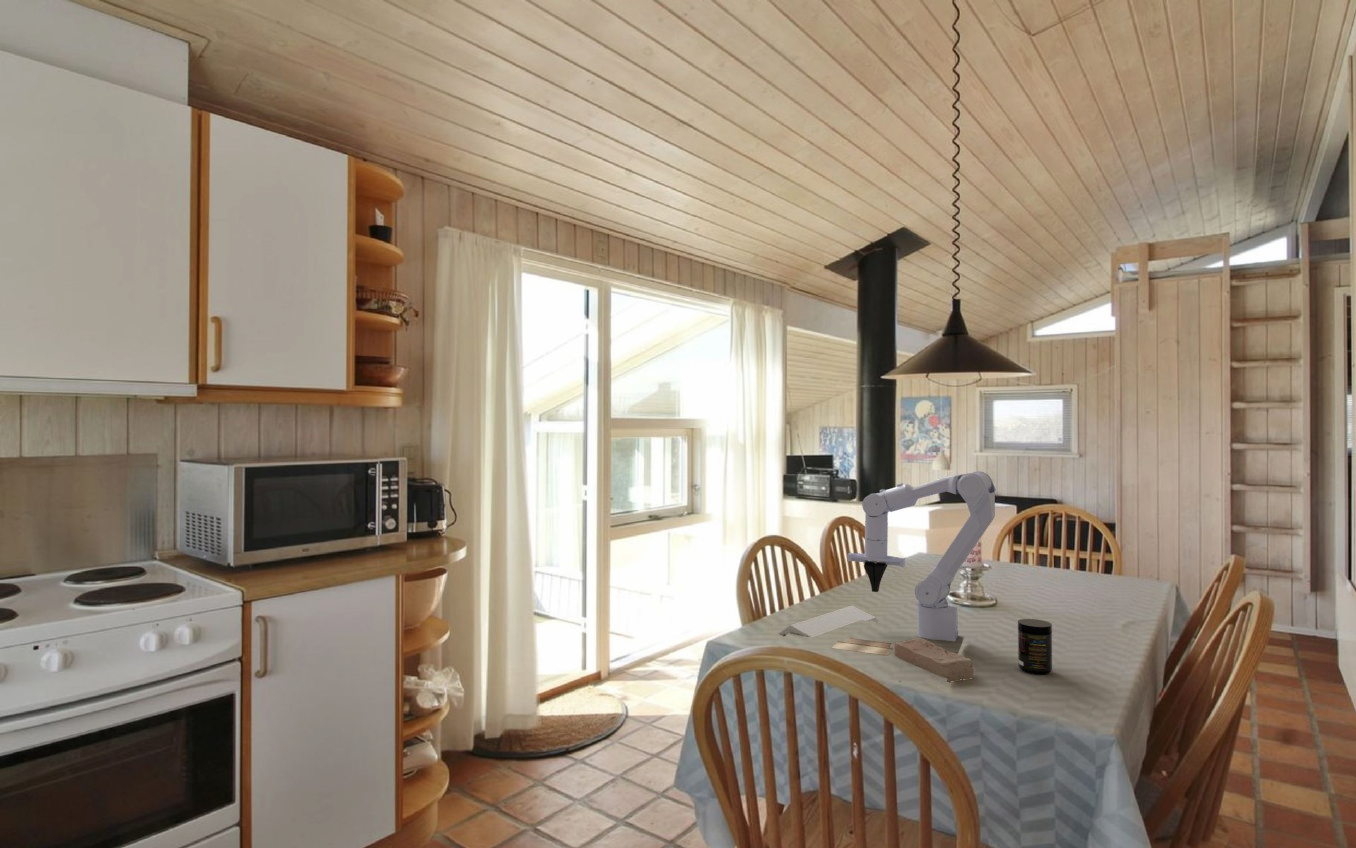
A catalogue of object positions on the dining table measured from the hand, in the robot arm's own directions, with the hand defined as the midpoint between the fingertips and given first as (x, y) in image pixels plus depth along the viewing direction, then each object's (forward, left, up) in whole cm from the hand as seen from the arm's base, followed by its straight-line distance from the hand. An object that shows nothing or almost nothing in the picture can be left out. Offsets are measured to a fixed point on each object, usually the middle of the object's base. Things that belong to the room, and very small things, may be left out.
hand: (875, 591), depth 189 cm
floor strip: (-1, +20, -10) cm, 23 cm away
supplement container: (-38, +16, -11) cm, 42 cm away
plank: (-2, +14, -10) cm, 17 cm away
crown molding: (+12, +2, -11) cm, 16 cm away
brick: (-17, +25, -11) cm, 32 cm away
